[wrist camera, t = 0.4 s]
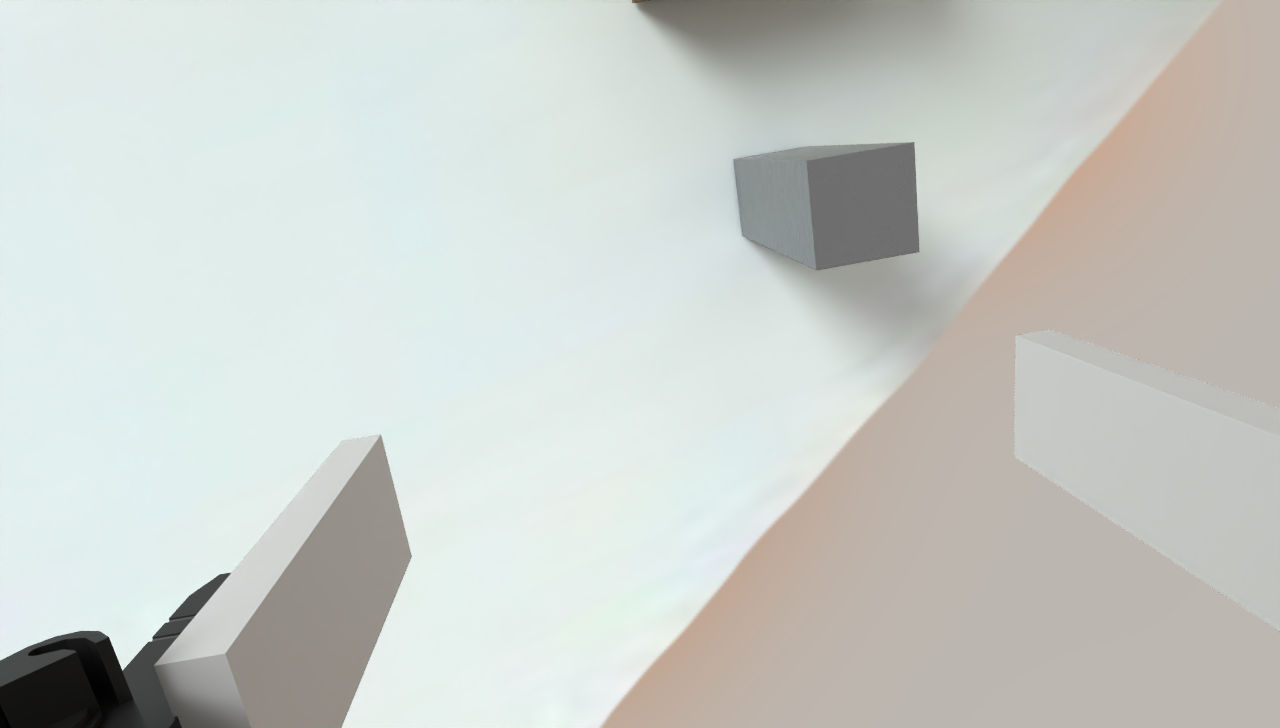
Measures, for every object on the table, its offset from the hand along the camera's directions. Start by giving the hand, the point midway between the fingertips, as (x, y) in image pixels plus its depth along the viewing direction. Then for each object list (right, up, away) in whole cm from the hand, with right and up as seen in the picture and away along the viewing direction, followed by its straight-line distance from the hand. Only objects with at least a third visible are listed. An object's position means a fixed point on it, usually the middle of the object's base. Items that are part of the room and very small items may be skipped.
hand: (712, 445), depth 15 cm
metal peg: (+6, +11, +23) cm, 26 cm away
